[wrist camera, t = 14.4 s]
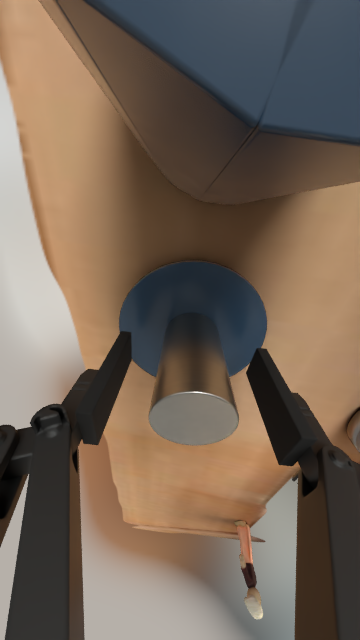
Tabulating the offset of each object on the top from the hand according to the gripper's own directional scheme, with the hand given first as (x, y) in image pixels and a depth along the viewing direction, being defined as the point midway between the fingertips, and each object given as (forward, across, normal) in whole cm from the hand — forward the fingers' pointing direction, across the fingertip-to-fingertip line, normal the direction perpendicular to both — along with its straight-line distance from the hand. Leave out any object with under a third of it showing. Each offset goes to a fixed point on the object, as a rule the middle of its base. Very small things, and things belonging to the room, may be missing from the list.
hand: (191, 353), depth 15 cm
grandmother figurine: (+4, -21, +56) cm, 60 cm away
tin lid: (+3, 0, 0) cm, 3 cm away
